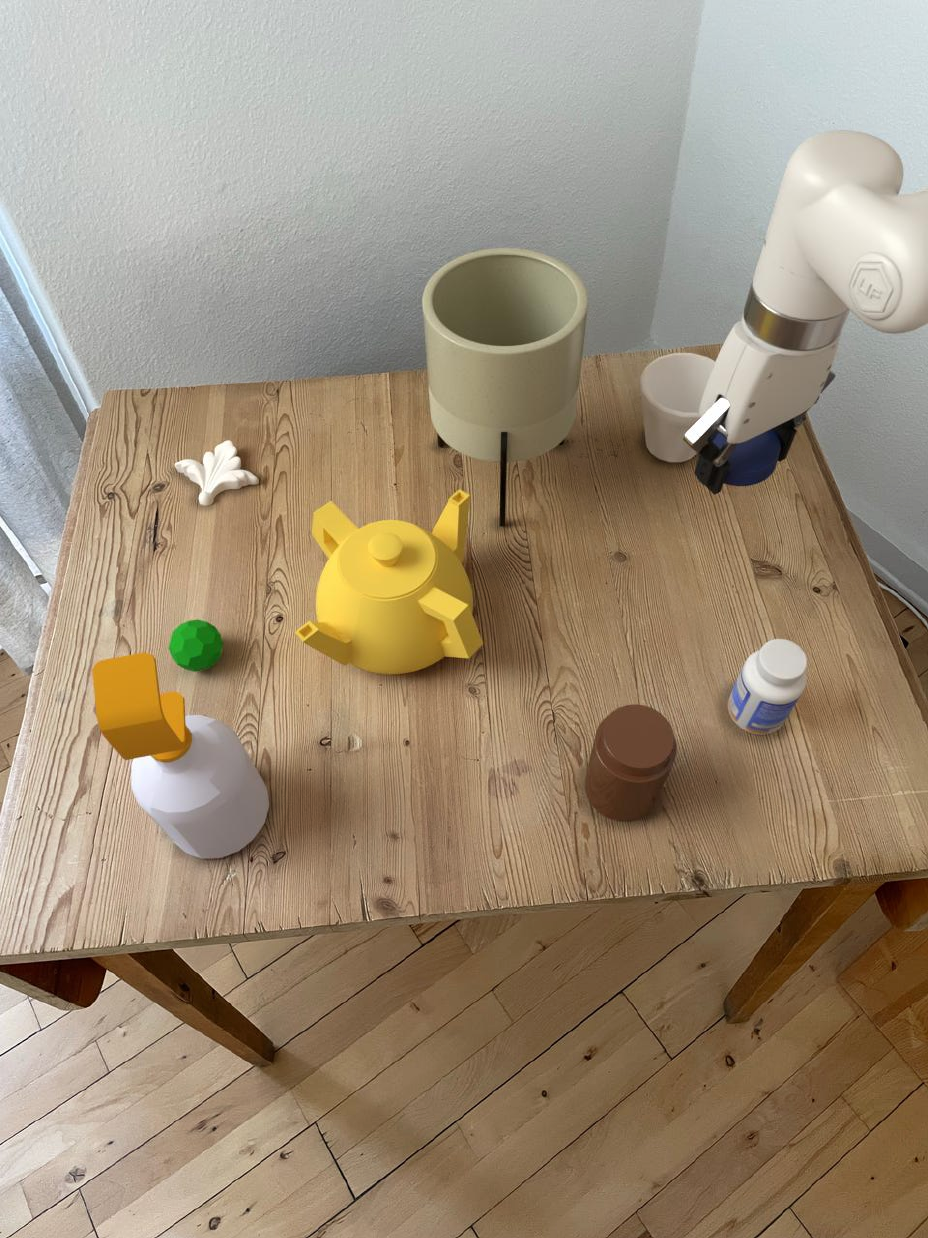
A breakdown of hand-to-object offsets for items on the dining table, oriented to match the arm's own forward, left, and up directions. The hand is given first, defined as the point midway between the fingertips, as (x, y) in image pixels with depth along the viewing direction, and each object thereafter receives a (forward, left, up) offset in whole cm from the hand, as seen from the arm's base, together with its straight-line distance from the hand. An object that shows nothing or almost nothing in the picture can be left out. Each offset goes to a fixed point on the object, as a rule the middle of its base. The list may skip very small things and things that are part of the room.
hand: (739, 466), depth 82 cm
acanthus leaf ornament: (+55, +3, -13) cm, 57 cm away
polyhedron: (+47, +26, -13) cm, 55 cm away
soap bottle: (+39, +40, -13) cm, 57 cm away
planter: (+24, -6, -13) cm, 28 cm away
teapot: (+30, +16, -13) cm, 36 cm away
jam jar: (+5, +29, -12) cm, 32 cm away
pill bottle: (-6, +18, -13) cm, 23 cm away
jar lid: (0, 0, +2) cm, 2 cm away
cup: (+6, -14, -13) cm, 20 cm away
